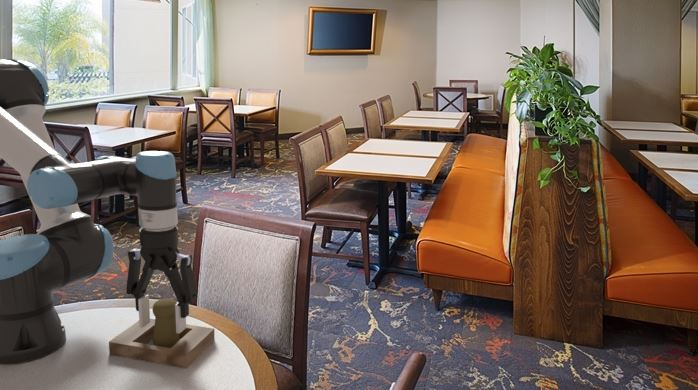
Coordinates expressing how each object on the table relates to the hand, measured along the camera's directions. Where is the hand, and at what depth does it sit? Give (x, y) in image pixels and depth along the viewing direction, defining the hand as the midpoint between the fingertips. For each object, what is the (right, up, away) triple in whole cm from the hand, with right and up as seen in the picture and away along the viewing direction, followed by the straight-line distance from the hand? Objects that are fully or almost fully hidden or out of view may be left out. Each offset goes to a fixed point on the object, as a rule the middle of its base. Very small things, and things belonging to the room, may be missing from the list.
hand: (162, 327), depth 114 cm
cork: (0, -5, +1) cm, 5 cm away
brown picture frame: (0, -5, +1) cm, 5 cm away
